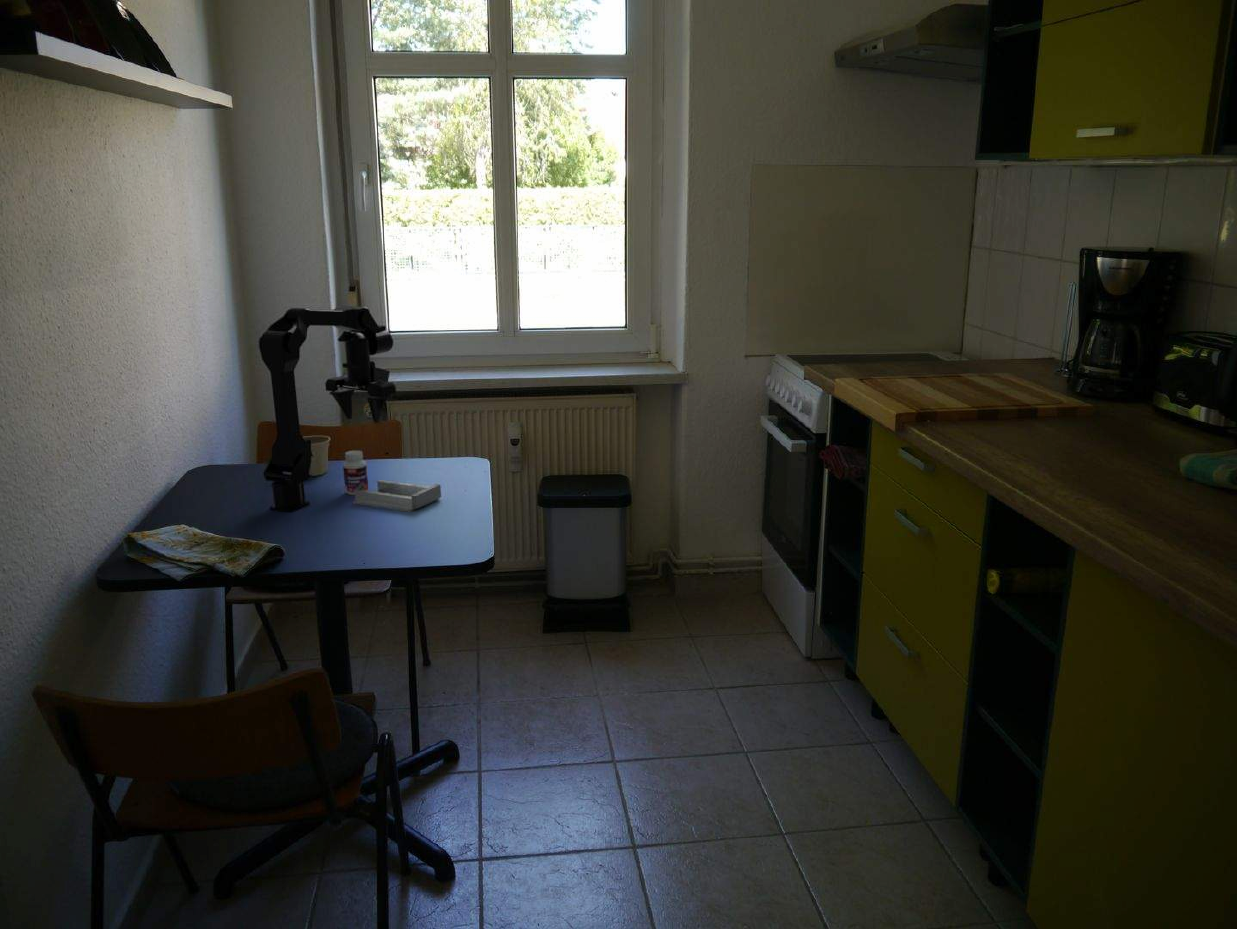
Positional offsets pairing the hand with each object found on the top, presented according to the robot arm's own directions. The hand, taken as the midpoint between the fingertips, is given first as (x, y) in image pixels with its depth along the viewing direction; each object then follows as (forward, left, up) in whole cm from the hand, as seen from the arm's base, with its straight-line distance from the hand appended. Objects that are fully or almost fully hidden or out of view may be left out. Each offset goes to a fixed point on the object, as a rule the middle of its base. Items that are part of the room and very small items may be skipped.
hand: (363, 420), depth 254 cm
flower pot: (-3, +15, -14) cm, 21 cm away
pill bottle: (-12, -6, -14) cm, 20 cm away
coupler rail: (-14, -19, -14) cm, 28 cm away
